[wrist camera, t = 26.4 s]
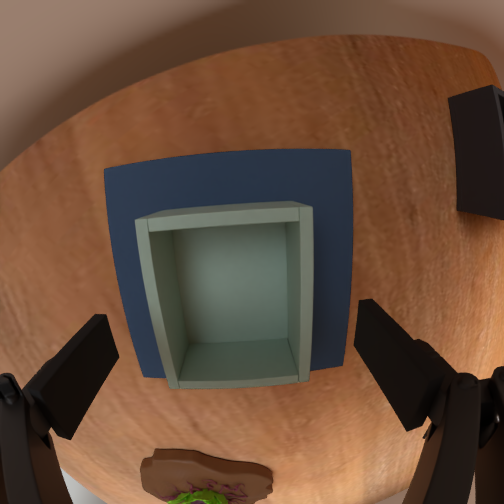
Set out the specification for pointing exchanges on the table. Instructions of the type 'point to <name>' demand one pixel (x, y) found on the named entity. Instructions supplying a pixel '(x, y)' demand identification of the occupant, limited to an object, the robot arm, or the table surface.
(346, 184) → the mat
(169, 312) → the green open bin
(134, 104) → the table surface
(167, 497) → the plant
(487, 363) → the table surface
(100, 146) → the table surface
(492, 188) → the bin lower
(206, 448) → the table surface
